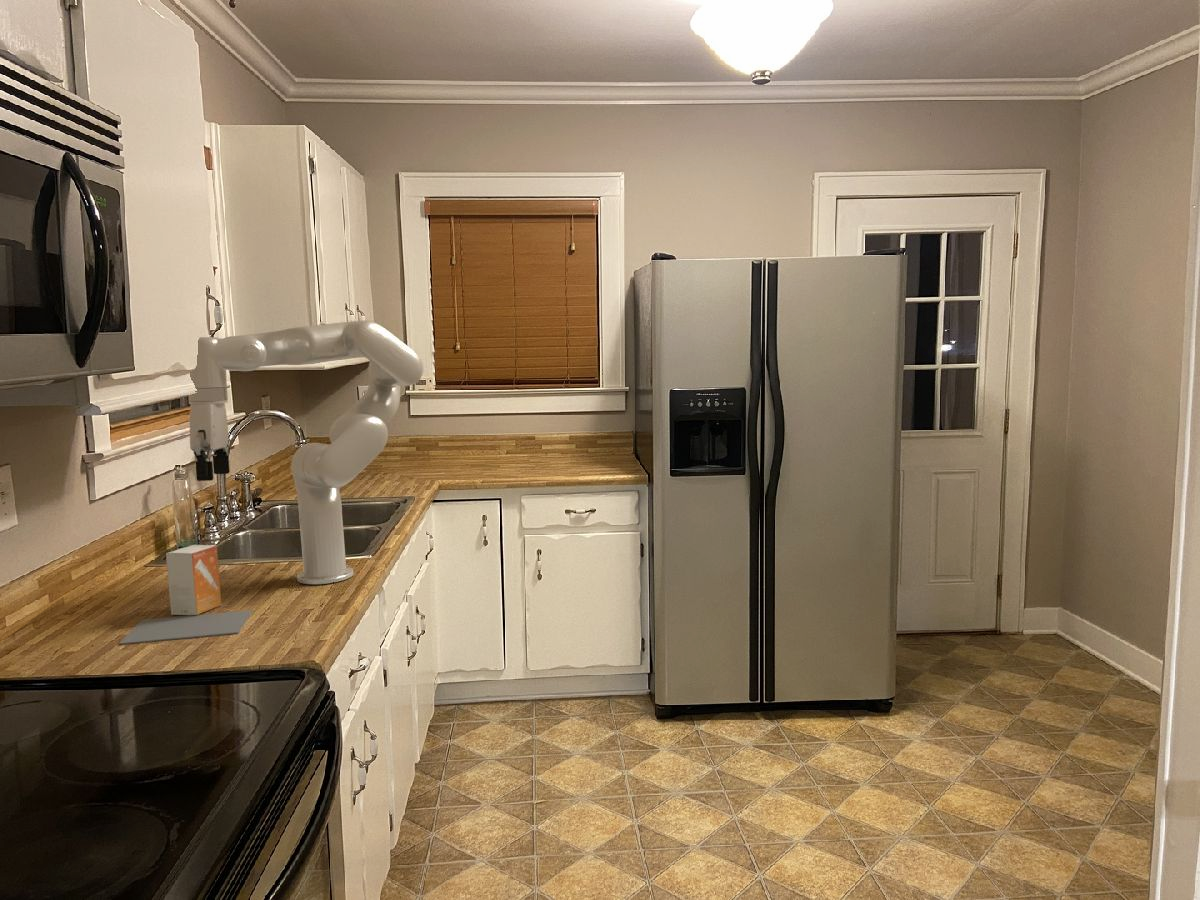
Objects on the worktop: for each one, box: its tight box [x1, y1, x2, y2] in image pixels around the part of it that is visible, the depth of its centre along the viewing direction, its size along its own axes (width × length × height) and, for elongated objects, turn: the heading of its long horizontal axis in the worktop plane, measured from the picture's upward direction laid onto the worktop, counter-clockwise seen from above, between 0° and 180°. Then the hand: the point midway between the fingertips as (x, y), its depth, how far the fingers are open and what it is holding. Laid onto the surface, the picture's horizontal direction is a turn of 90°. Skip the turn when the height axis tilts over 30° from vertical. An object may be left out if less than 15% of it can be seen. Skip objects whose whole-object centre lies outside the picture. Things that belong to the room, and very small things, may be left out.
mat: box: [118, 609, 253, 645], centre depth 173 cm, size 14×21×1 cm, turn 101°
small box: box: [165, 544, 222, 616], centre depth 183 cm, size 8×6×13 cm
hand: (213, 477), depth 187 cm, fingers open, 9 cm apart
